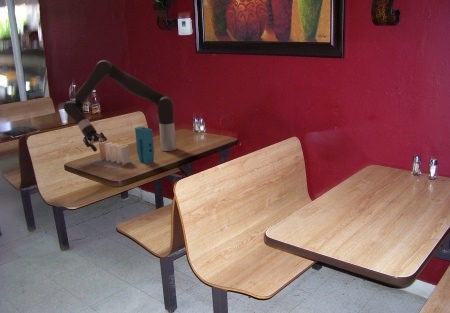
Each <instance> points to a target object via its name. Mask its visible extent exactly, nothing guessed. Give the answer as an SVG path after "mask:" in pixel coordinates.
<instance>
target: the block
mask: <svg viewBox="0 0 450 313" xmlns="http://www.w3.org/2000/svg"><path fill="white" fill-rule="evenodd" d="M134 129H135V131H134V132H135V140H136V143H135V144H136V151H137V152H136V153H137V156H138V161H139V162H140V163H143V164H144V165H149V164H153V163H154V160H155V159H154V158H155V145H154V135H153V129H152V128H148V127H145V126H138V127H137V126H136V127H135V128H134Z"/></svg>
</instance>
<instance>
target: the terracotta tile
mask: <svg viewBox="0 0 450 313" xmlns="http://www.w3.org/2000/svg"><path fill="white" fill-rule="evenodd" d="M107 143H108V142H107V140H106V141H105V142H102V143H101V142H98V146H99V153H100V158H101V160H103V159H106V155H105V146H104V144H107Z"/></svg>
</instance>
